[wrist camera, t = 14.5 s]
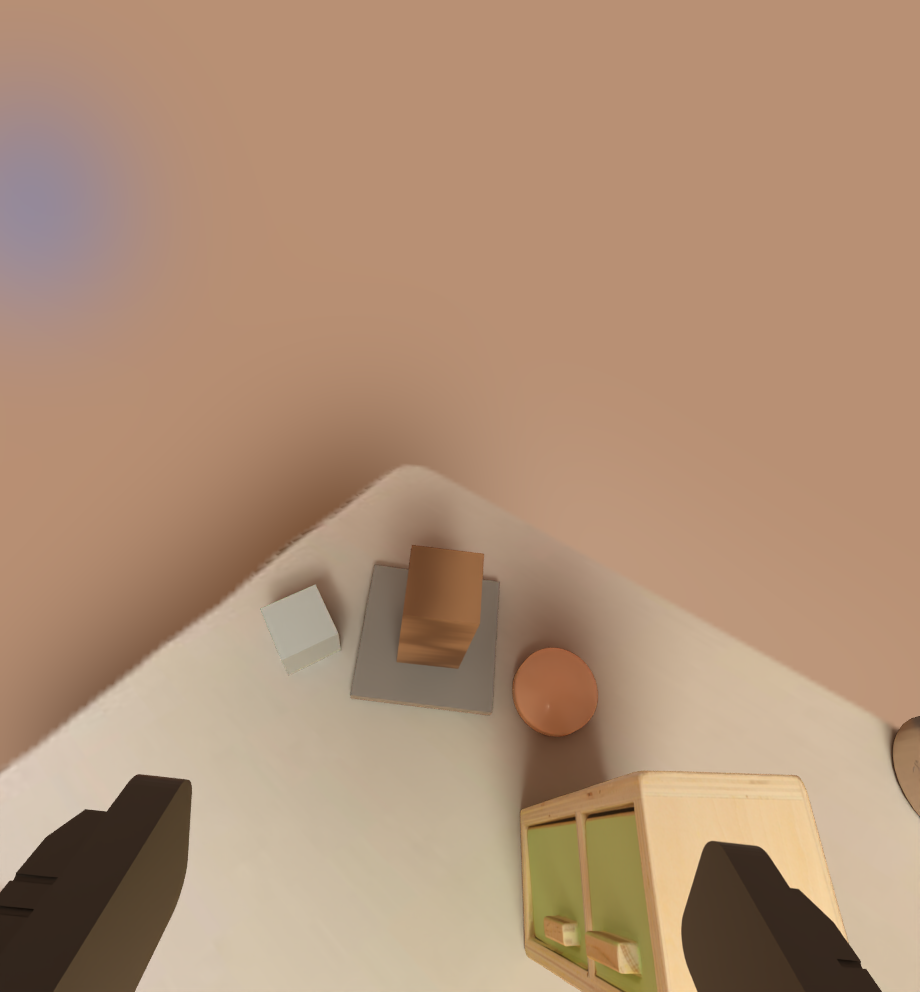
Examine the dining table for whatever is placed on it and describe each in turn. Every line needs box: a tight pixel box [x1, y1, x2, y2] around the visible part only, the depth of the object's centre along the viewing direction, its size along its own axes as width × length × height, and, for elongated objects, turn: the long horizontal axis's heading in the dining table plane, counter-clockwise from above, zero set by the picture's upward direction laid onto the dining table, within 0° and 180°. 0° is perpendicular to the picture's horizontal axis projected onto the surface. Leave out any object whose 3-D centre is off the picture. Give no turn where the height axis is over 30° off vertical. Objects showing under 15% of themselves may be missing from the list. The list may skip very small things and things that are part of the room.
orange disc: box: [512, 648, 598, 737], centre depth 42 cm, size 6×6×2 cm
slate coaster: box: [350, 565, 500, 716], centre depth 44 cm, size 10×10×1 cm
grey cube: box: [260, 584, 341, 676], centre depth 41 cm, size 4×4×4 cm
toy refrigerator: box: [520, 771, 849, 992], centre depth 28 cm, size 8×7×21 cm
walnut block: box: [397, 545, 484, 669], centre depth 39 cm, size 4×4×10 cm
